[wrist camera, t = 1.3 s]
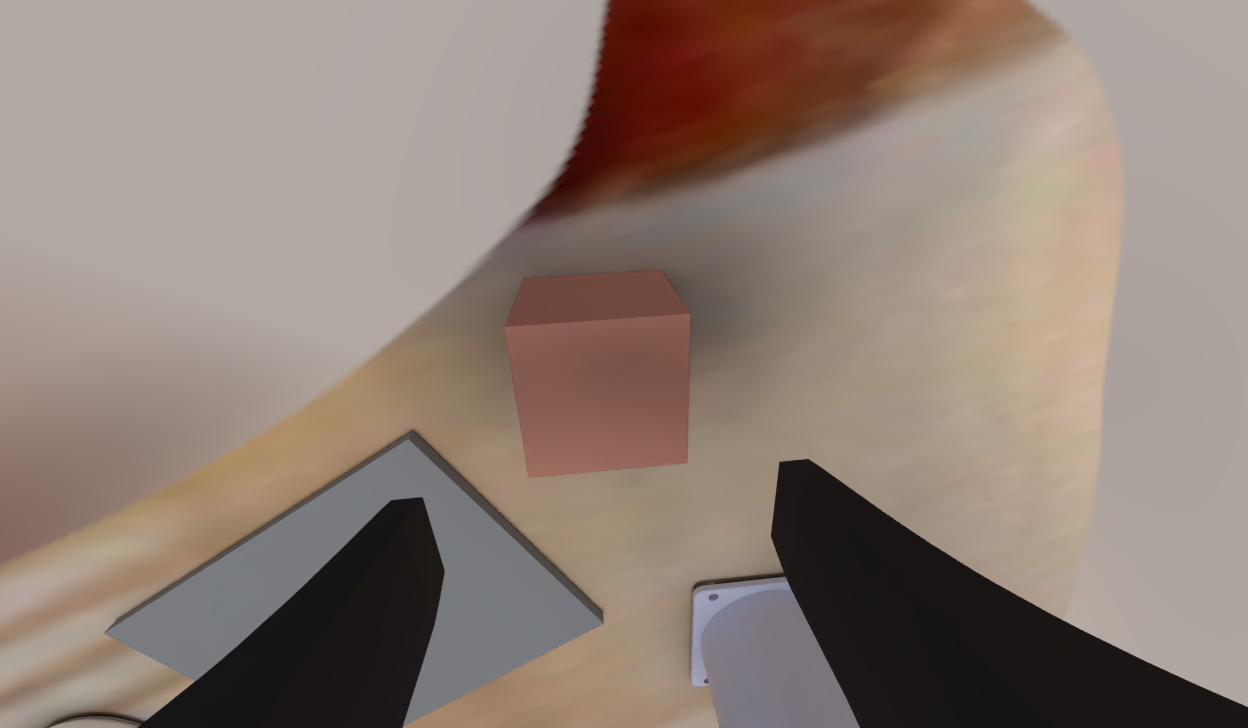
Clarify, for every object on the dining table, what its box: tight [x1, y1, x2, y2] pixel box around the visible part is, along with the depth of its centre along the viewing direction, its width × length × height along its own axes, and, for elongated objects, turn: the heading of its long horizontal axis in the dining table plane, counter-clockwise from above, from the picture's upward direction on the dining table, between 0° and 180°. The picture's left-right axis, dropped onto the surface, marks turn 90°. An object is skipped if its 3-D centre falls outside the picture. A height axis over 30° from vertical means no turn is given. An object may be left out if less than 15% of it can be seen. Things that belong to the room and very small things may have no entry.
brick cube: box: [504, 270, 690, 478], centre depth 16 cm, size 5×5×5 cm
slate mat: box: [104, 431, 604, 726], centre depth 23 cm, size 18×14×1 cm
